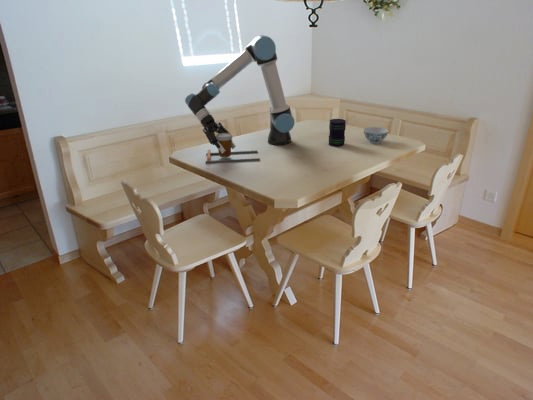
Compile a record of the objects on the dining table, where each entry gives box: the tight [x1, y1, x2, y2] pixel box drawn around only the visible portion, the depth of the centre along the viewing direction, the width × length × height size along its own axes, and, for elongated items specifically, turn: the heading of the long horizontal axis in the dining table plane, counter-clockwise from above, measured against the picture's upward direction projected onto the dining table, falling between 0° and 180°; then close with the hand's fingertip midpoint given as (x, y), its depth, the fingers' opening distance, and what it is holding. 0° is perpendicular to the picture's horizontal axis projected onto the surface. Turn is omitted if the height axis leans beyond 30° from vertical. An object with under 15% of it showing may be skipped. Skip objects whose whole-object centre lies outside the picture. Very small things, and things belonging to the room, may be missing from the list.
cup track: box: [205, 149, 261, 164], centre depth 224 cm, size 30×15×3 cm, turn 96°
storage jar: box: [328, 118, 347, 148], centre depth 241 cm, size 10×10×15 cm
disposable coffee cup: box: [215, 132, 233, 158], centre depth 221 cm, size 10×10×12 cm
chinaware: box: [363, 126, 389, 145], centre depth 246 cm, size 15×15×8 cm
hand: (229, 149), depth 221 cm, fingers closed on disposable coffee cup, 9 cm apart
